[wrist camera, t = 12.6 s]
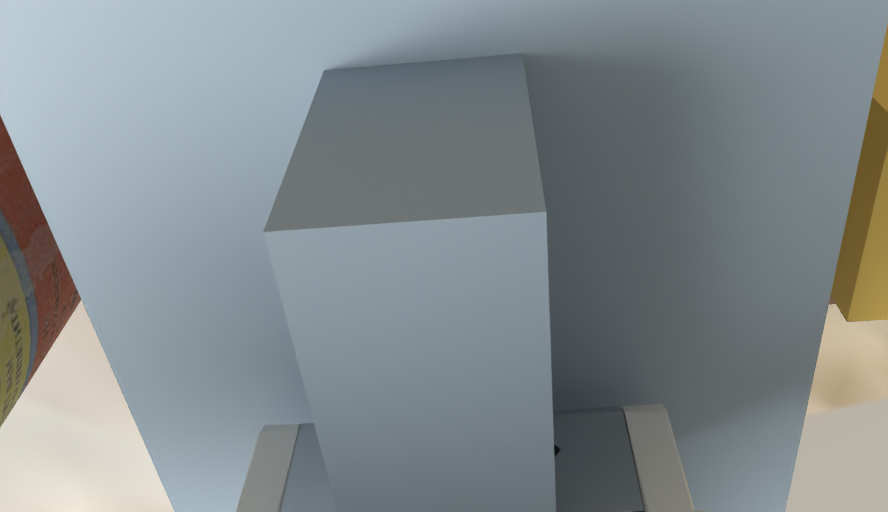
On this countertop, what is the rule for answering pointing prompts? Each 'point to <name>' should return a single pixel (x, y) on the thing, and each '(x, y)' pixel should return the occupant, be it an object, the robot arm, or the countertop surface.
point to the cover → (448, 227)
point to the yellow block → (868, 218)
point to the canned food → (27, 280)
